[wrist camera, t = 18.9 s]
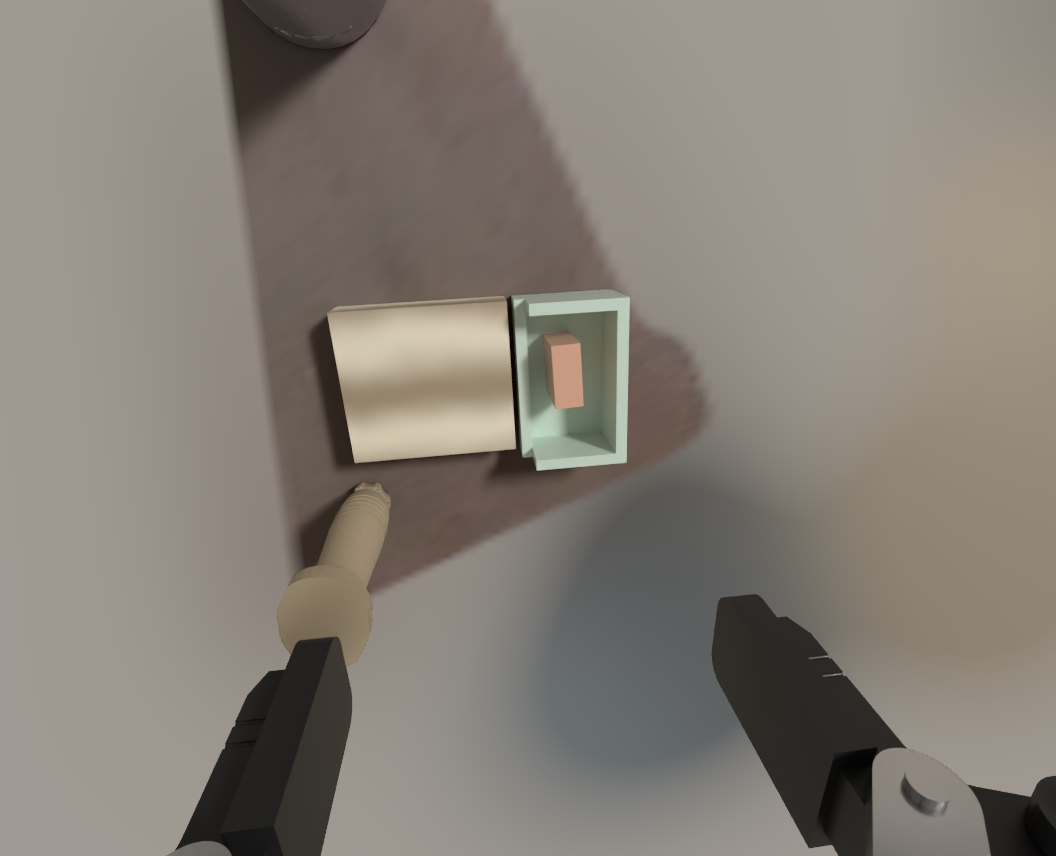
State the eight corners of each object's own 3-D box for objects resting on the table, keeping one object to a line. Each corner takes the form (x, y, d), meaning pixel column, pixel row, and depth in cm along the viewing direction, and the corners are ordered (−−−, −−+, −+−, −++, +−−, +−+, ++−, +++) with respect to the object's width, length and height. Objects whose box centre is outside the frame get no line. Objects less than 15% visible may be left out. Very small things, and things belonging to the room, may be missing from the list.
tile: (550, 346, 35) (580, 343, 35) (542, 333, 39) (568, 331, 39) (555, 409, 37) (583, 406, 37) (546, 391, 41) (572, 388, 41)
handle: (343, 531, 44) (285, 671, 30) (337, 461, 42) (271, 578, 28) (402, 530, 45) (371, 668, 31) (399, 461, 42) (364, 576, 28)
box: (510, 295, 39) (516, 304, 34) (610, 289, 39) (629, 297, 35) (519, 445, 43) (525, 471, 38) (609, 437, 43) (626, 462, 39)
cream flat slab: (337, 306, 38) (326, 312, 35) (504, 295, 39) (506, 301, 36) (362, 447, 42) (354, 462, 39) (512, 434, 42) (516, 449, 40)
